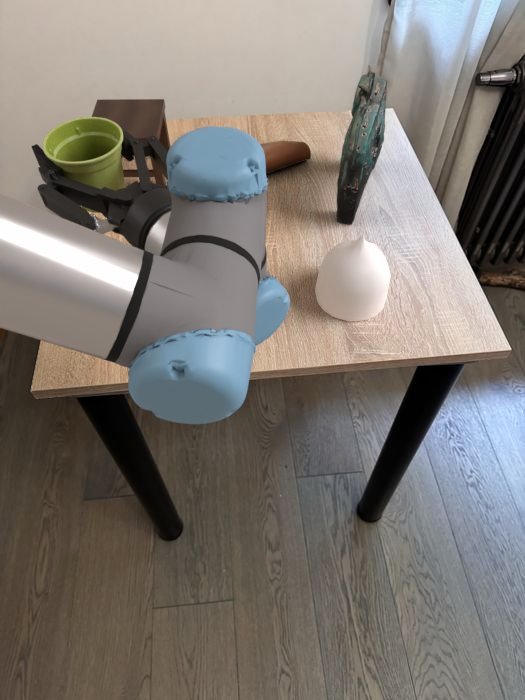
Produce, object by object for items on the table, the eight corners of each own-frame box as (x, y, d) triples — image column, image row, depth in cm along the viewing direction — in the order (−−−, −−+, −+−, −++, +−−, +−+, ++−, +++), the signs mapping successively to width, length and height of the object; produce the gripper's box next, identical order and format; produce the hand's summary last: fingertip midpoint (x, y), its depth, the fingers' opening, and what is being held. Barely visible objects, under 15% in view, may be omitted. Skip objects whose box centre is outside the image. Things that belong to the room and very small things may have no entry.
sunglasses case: (287, 138, 101) (298, 119, 94) (303, 169, 101) (315, 153, 94) (206, 166, 96) (212, 148, 89) (222, 200, 96) (229, 184, 89)
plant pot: (54, 218, 65) (28, 159, 58) (81, 173, 70) (60, 113, 63) (125, 226, 64) (107, 166, 57) (147, 179, 69) (133, 119, 62)
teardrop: (311, 317, 76) (318, 260, 66) (317, 264, 82) (324, 204, 72) (386, 325, 75) (405, 268, 65) (386, 271, 81) (403, 211, 71)
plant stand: (100, 191, 93) (84, 138, 84) (111, 151, 99) (97, 99, 91) (166, 190, 93) (156, 138, 84) (172, 151, 99) (164, 98, 91)
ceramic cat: (346, 156, 98) (363, 46, 82) (380, 161, 97) (403, 51, 81) (326, 223, 87) (340, 112, 71) (363, 230, 86) (386, 119, 70)
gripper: (94, 308, 53) (4, 200, 63) (250, 221, 61) (148, 137, 71) (71, 257, 47) (-25, 146, 57) (248, 166, 55) (136, 83, 65)
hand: (71, 141), depth 64 cm, fingers closed on plant pot, 8 cm apart
